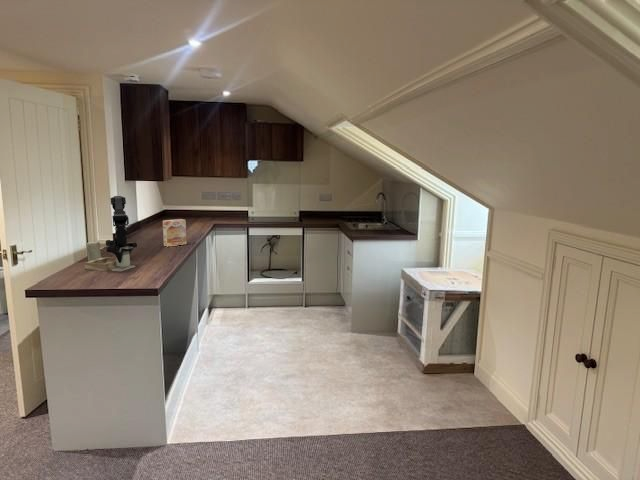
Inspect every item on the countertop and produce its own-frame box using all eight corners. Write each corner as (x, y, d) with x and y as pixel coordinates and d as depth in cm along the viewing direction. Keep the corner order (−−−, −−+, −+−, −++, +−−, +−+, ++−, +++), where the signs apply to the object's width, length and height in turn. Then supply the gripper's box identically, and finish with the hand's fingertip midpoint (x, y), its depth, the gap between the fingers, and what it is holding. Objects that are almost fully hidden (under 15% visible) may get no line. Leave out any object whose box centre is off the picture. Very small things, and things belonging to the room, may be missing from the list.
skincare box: (101, 261, 268) (100, 241, 266) (98, 262, 264) (96, 243, 262) (91, 261, 268) (89, 241, 266) (87, 262, 264) (86, 243, 262)
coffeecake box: (167, 248, 311) (165, 221, 308) (163, 246, 316) (162, 220, 313) (187, 245, 321) (185, 219, 317) (183, 244, 326) (181, 218, 323)
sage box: (122, 264, 251) (121, 250, 250) (130, 264, 250) (129, 251, 249) (116, 265, 247) (115, 252, 245) (124, 266, 245) (123, 252, 244)
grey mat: (126, 266, 255) (126, 265, 255) (135, 266, 254) (135, 265, 253) (111, 270, 244) (111, 269, 244) (121, 271, 242) (121, 270, 242)
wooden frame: (105, 263, 261) (104, 257, 261) (125, 265, 257) (125, 258, 257) (85, 269, 246) (84, 262, 246) (106, 271, 243) (105, 264, 242)
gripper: (120, 232, 256) (122, 257, 259) (97, 237, 239) (99, 264, 241) (136, 232, 253) (138, 258, 256) (114, 238, 236) (116, 265, 238)
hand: (123, 261), depth 248 cm, fingers closed on sage box, 5 cm apart
